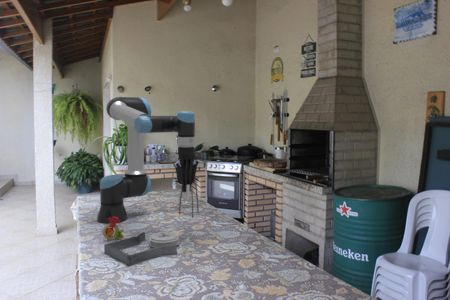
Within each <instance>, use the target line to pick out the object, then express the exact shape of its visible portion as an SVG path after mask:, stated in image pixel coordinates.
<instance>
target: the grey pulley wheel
mask: <svg viewBox="0 0 450 300" xmlns="http://www.w3.org/2000/svg"><path fill="white" fill-rule="evenodd" d="M179 238H180V237H179V235H178V234H177V233H175V232H171V231H159V232H155V233H153V234H151V235H150V236H149V237H148V240H149V243H148V245H149V246H150V247H151V248H155V247H159V246H165V245H177V246H178V245H179V244H180V243H179V242H180V241H179Z"/></svg>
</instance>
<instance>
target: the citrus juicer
mask: <svg viewBox="0 0 450 300" xmlns="http://www.w3.org/2000/svg"><path fill="white" fill-rule="evenodd" d="M193 183H194V187H195V188H194V189H195V196H196V210H197V211H196V212H197V213H199V210H200V209H199V208H200V207H199V195H198V186H197V180H196V179H195V181H194V182H193ZM190 194H191V218H194V192H193V184H192V185H191V191H190ZM179 195H180V196H179V206H178V215H180V214H181V208H182V197H183V192H182V186H181V189H180V194H179Z"/></svg>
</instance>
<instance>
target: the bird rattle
mask: <svg viewBox="0 0 450 300" xmlns="http://www.w3.org/2000/svg"><path fill="white" fill-rule="evenodd" d="M108 220H109V221H110V223H106V225H104V227H103V228H102V236H103V237H104V238H105V239H106V241H107V242H108V241H111V240H114V239H118V241H120V240H123V238H124V234H123V232H124V229H120V228H119V226H118V225H117V224H119V223H121V222H120V220H119V219H118V217H115V216H114V217H109V218H108Z"/></svg>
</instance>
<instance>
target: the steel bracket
mask: <svg viewBox="0 0 450 300" xmlns="http://www.w3.org/2000/svg"><path fill="white" fill-rule="evenodd" d="M145 241H146V232H145V231H142V232H141V233H139V234H137V235H136V236H131V237H128V238H124V239H121V240H117V241H113V242H109V243H105V244H104V254H105V255H108V256H109V257H111V258H113V259H114V260H117V261H119V262H120V263H122V264H125V265H127V266H129V267H130V266H133V265H136V264H139V263H142V262H146V261H149V260H152V259H155V258H159V257H161V256H168V255H170V256H171V255H177V254H178V249H177V248H178V245H165V246H159V247H155V248H153V247H151V248H149V249H145V250H142V251H139V252H135V253H133V254H128V252H124V251H122V250H124V249H128V248H131V247H135V246H139V245H141V244H142V243H144V242H145Z"/></svg>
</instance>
